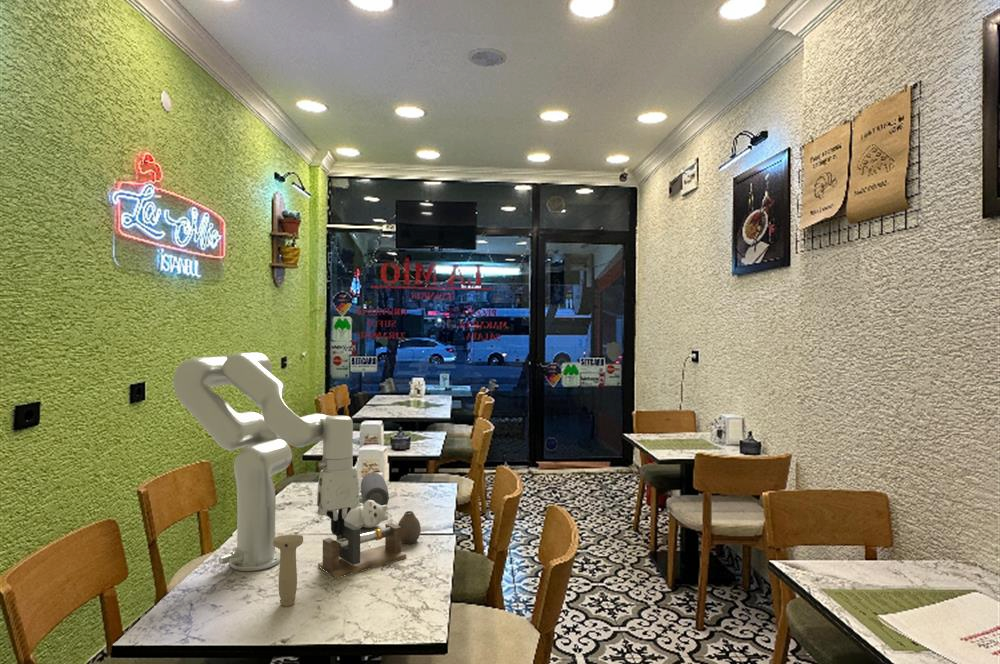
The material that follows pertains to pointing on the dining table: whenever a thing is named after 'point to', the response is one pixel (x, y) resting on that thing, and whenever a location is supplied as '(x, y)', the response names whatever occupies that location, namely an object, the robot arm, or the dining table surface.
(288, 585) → the handle
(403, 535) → the vase
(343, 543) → the pipe
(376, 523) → the cat figurine
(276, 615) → the dining table surface
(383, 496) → the bluetooth speaker
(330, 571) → the stand
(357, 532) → the collar
